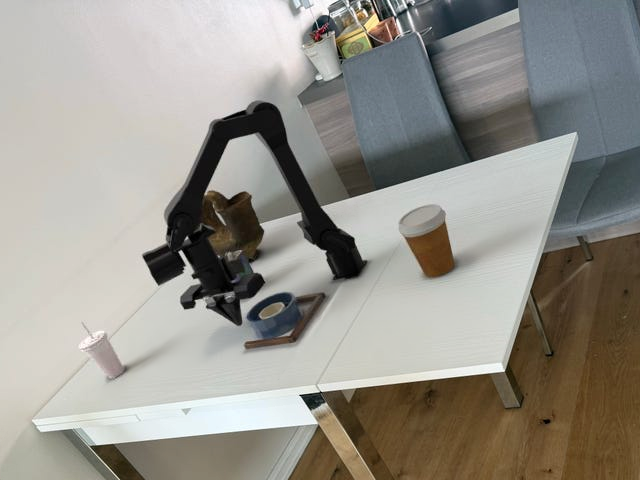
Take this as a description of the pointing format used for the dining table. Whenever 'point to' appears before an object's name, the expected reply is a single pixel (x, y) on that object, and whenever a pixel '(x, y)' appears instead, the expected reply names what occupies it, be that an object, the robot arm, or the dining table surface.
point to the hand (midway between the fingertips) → (240, 324)
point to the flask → (246, 264)
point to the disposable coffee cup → (428, 239)
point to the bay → (317, 300)
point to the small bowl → (271, 310)
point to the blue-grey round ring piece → (275, 316)
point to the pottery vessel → (232, 224)
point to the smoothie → (101, 352)
